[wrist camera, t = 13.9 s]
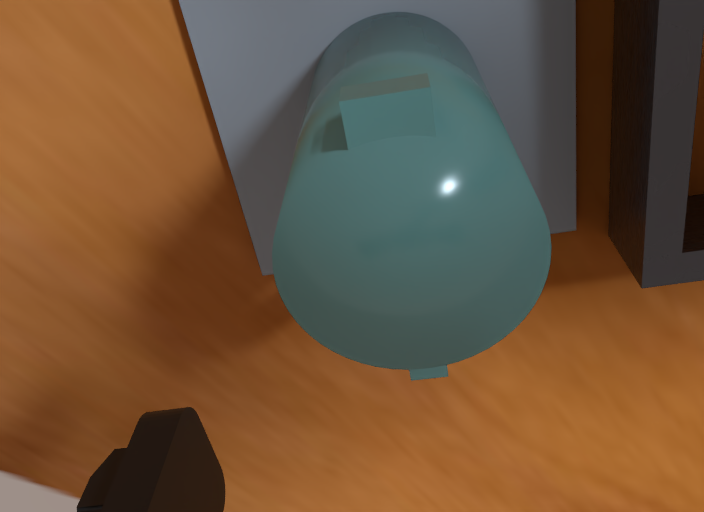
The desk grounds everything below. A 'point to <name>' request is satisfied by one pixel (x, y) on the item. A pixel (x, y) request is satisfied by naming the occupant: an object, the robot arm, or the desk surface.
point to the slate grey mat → (316, 35)
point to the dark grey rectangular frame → (656, 140)
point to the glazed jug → (407, 204)
